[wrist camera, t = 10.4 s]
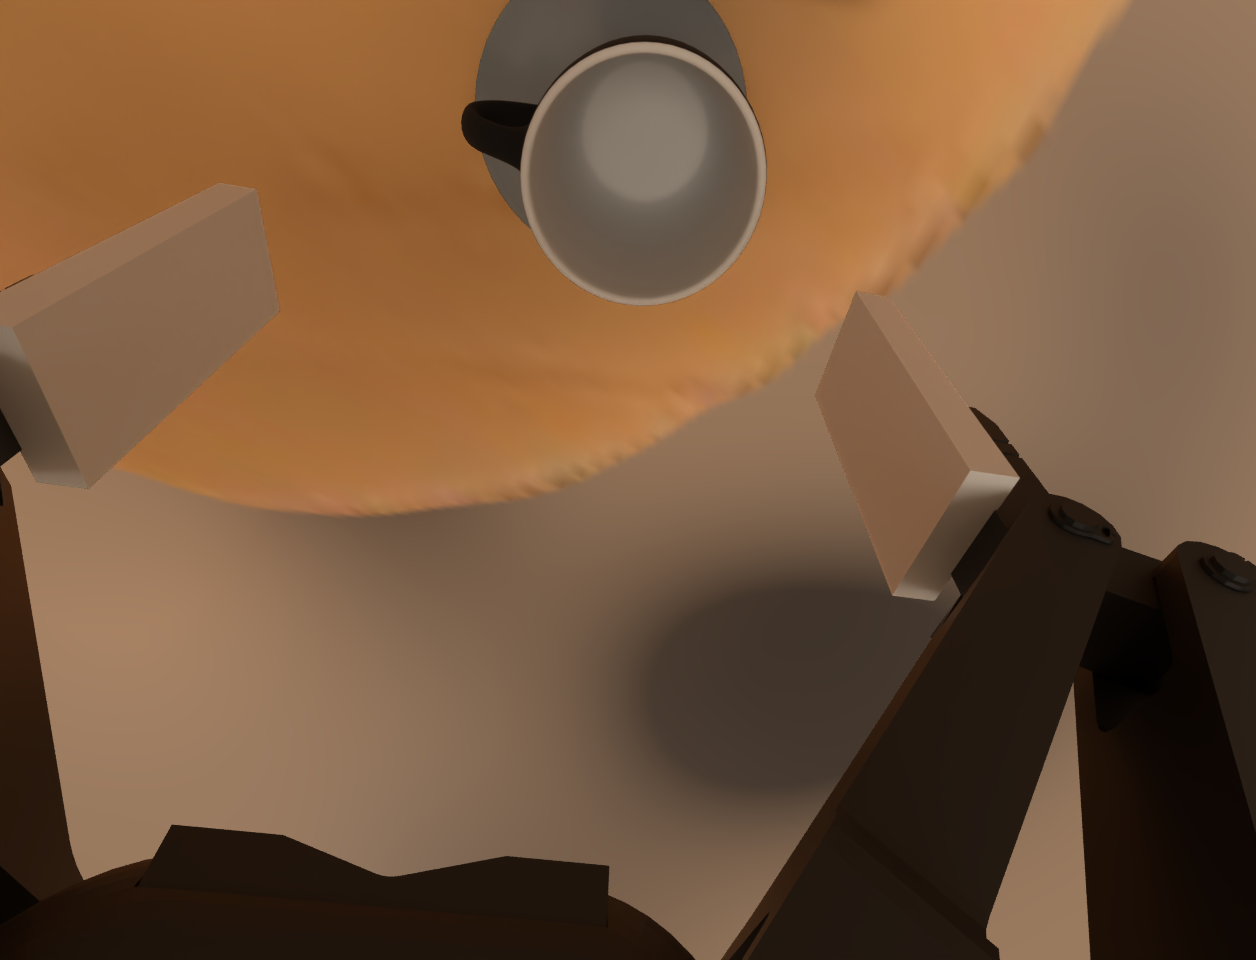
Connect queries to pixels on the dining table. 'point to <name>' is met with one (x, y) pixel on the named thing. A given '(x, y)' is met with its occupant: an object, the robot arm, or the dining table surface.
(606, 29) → the coaster
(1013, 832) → the robot arm
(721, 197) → the mug
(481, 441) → the dining table surface
